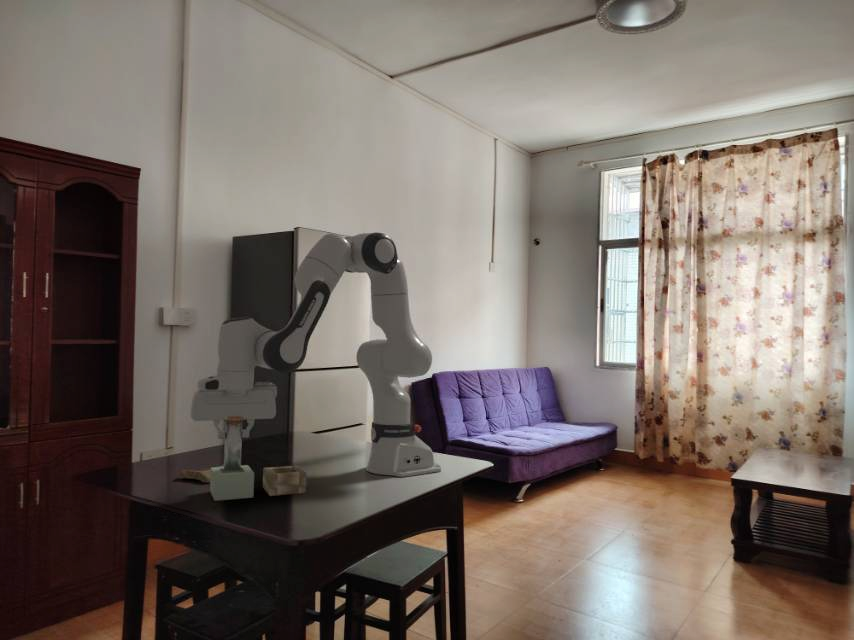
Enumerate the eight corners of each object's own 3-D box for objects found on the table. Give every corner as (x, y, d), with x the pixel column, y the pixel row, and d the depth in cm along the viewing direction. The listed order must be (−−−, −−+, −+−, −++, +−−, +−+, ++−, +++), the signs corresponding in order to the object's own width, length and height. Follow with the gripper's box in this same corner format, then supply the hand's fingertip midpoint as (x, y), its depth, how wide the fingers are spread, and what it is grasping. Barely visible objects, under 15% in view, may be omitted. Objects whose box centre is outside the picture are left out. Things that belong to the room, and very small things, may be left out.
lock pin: (240, 466, 155) (242, 414, 155) (244, 470, 151) (246, 417, 151) (220, 467, 153) (222, 415, 153) (223, 471, 148) (225, 417, 149)
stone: (176, 480, 166) (176, 468, 166) (228, 470, 178) (228, 459, 178) (196, 487, 159) (196, 475, 159) (249, 477, 171) (249, 466, 171)
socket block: (246, 488, 158) (247, 465, 158) (253, 497, 150) (254, 472, 150) (210, 491, 154) (210, 467, 154) (214, 500, 146) (215, 475, 146)
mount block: (297, 484, 163) (297, 465, 164) (305, 492, 155) (306, 472, 155) (262, 487, 159) (263, 467, 160) (269, 495, 151) (270, 475, 151)
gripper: (274, 380, 160) (272, 434, 159) (191, 381, 151) (188, 437, 150) (280, 382, 154) (278, 438, 154) (193, 383, 145) (191, 442, 145)
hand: (233, 437), depth 152 cm, fingers closed on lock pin, 4 cm apart
